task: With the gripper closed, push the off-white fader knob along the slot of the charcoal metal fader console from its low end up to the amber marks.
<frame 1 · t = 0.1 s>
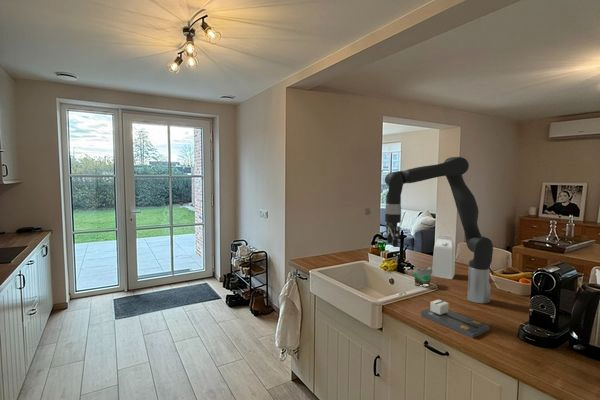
hand: (392, 245, 160), 29 cm above the countertop, fingers open, 8 cm apart
milk: (443, 275, 205), on the countertop
fader console: (453, 322, 139), on the countertop
food container: (424, 286, 185), on the countertop
fader knob: (439, 306, 145), point 5 cm above the countertop, slide at -7.0 cm
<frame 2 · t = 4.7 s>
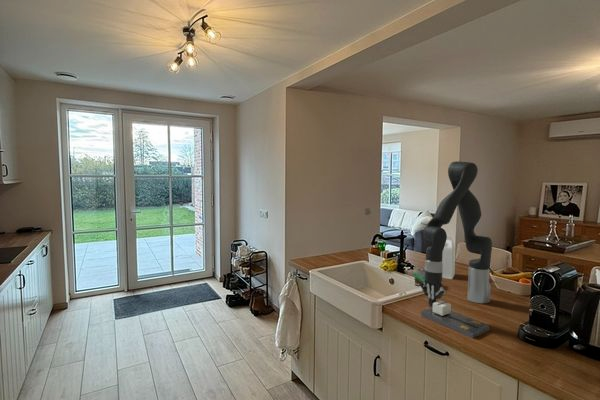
hand: (432, 306, 148), 3 cm above the countertop, fingers closed
fader knob: (441, 307, 144), point 5 cm above the countertop, slide at -5.8 cm, touching gripper
everything else where it was.
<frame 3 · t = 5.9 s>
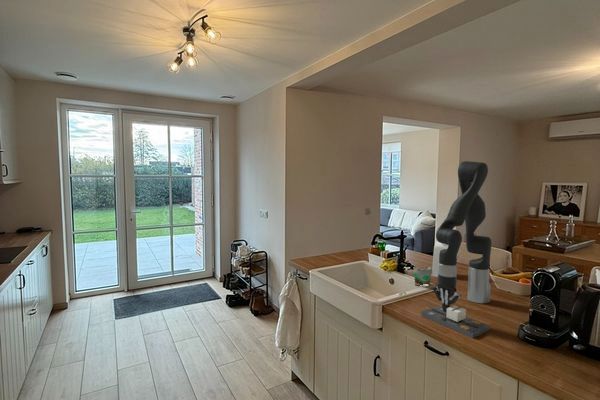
hand: (445, 311, 142), 3 cm above the countertop, fingers closed
fader knob: (456, 313, 138), point 5 cm above the countertop, slide at 1.1 cm, touching gripper
everything else where it was.
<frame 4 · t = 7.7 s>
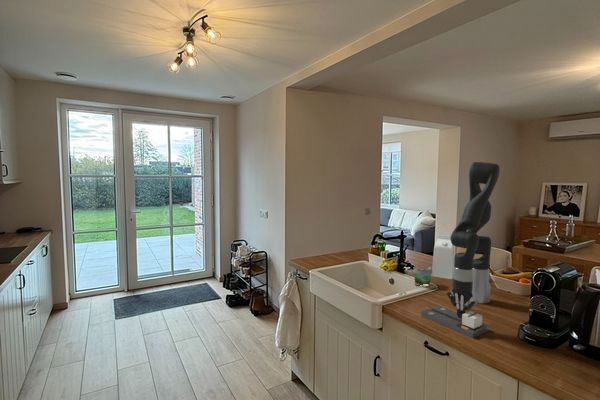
hand: (460, 317, 136), 4 cm above the countertop, fingers closed
fader knob: (472, 319, 132), point 5 cm above the countertop, slide at 8.1 cm, touching gripper
everything else where it was.
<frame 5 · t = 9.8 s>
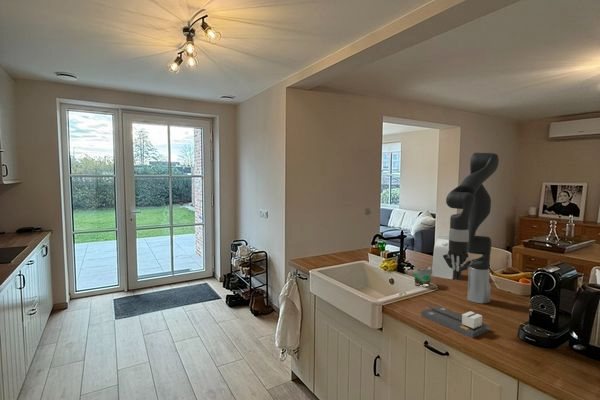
hand: (457, 278, 137), 20 cm above the countertop, fingers closed
fader knob: (471, 319, 132), point 5 cm above the countertop, slide at 8.0 cm
everything else where it was.
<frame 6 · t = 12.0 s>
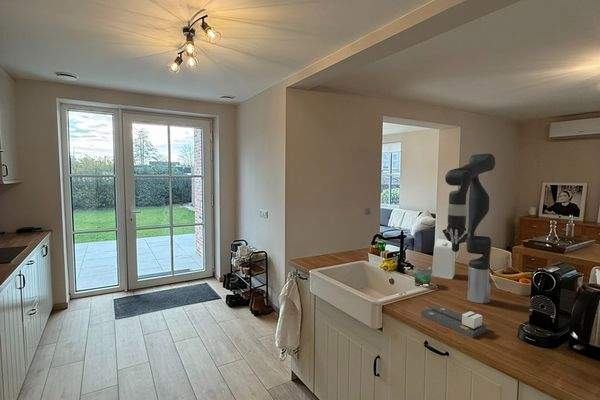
hand: (455, 251, 147), 29 cm above the countertop, fingers closed
nothing on the countertop moved.
at the end: fader knob slide at 8.0 cm; fader knob touching nothing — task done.
